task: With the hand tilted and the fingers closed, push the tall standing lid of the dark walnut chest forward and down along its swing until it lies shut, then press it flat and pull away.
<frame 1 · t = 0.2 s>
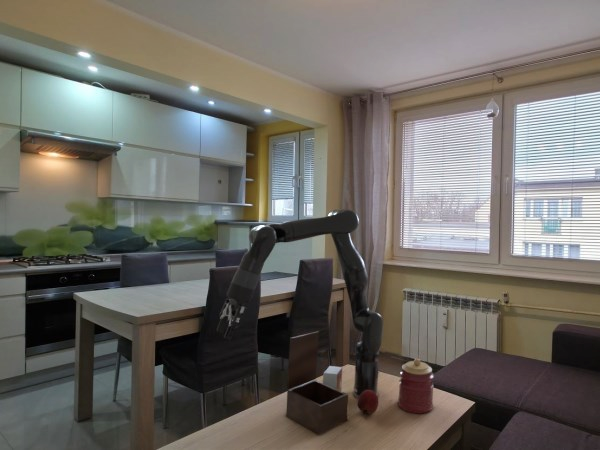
hand: (223, 335, 116), 31 cm above the table, tool tilted 20°, fingers open, 8 cm apart
chest: (316, 418, 130), on the table
kitchen canister: (415, 406, 143), on the table
small box: (331, 397, 147), on the table
lid: (303, 359, 135), point 18 cm above the table, hinge at 88.0°
apple: (367, 413, 135), on the table
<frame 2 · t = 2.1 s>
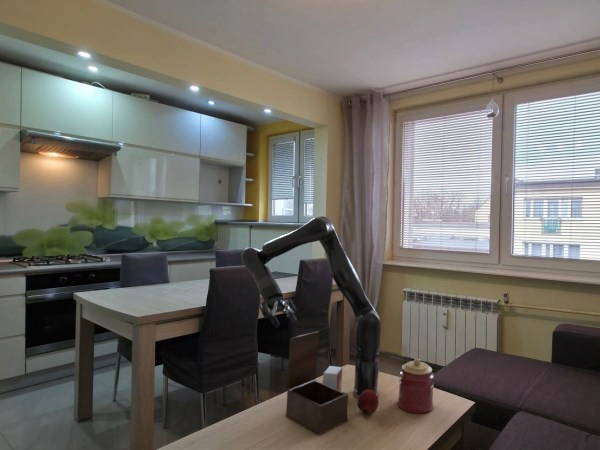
hand: (286, 324, 142), 29 cm above the table, tool tilted 45°, fingers open, 7 cm apart
nothing on the table moved.
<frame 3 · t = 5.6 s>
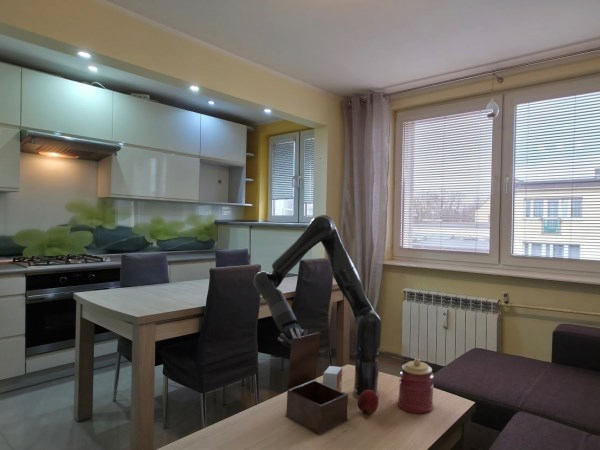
hand: (303, 356, 136), 19 cm above the table, tool tilted 45°, fingers closed
lid: (304, 359, 135), point 18 cm above the table, hinge at 84.9°, touching gripper
everything else where it was.
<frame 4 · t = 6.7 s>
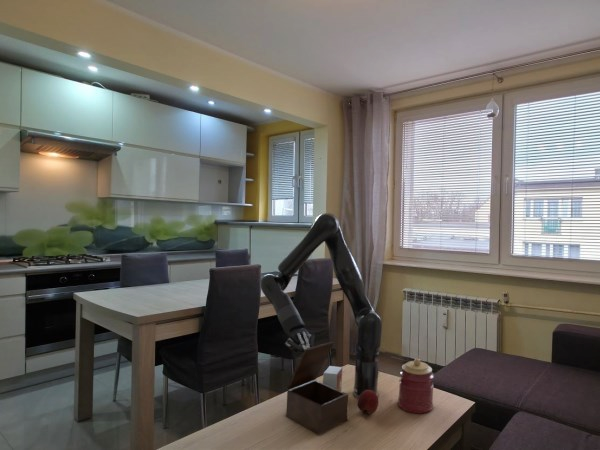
hand: (310, 361, 133), 18 cm above the table, tool tilted 45°, fingers closed
lid: (310, 365, 133), point 17 cm above the table, hinge at 61.7°, touching gripper
everything else where it was.
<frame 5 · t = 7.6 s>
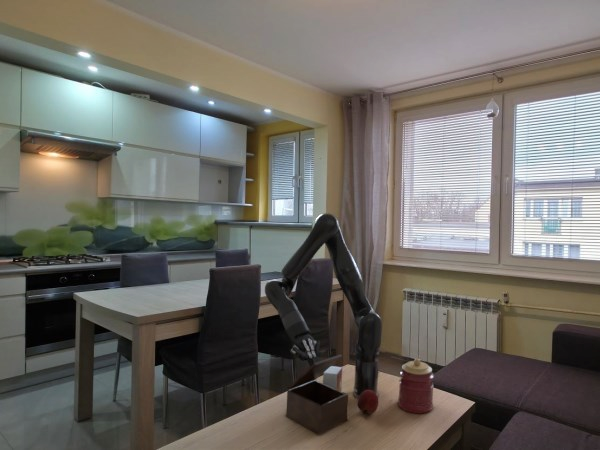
hand: (316, 368, 131), 17 cm above the table, tool tilted 45°, fingers closed
lid: (314, 371, 131), point 15 cm above the table, hinge at 42.8°, touching gripper
everything else where it was.
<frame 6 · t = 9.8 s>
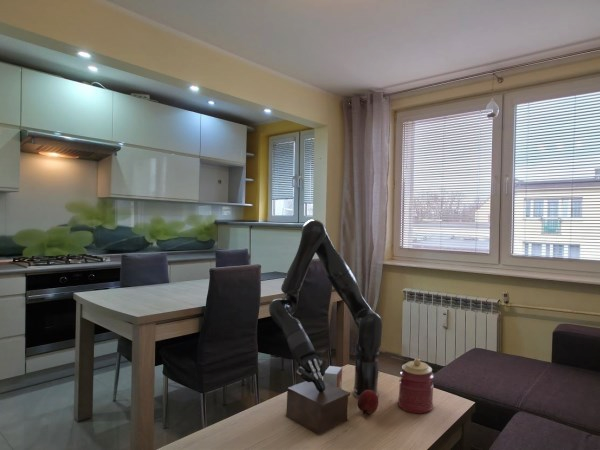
hand: (322, 390, 129), 10 cm above the table, tool tilted 45°, fingers closed
lid: (318, 391, 130), point 9 cm above the table, hinge at -0.2°, touching chest, gripper
everything else where it was.
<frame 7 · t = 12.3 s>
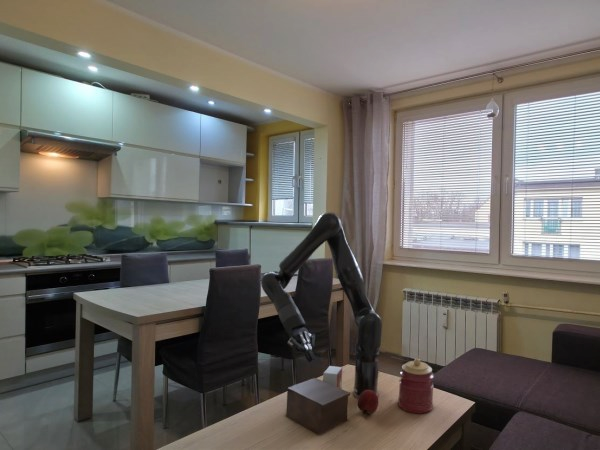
hand: (312, 360, 134), 18 cm above the table, tool tilted 45°, fingers closed
lid: (318, 391, 130), point 9 cm above the table, hinge at -0.2°, touching chest
everything else where it was.
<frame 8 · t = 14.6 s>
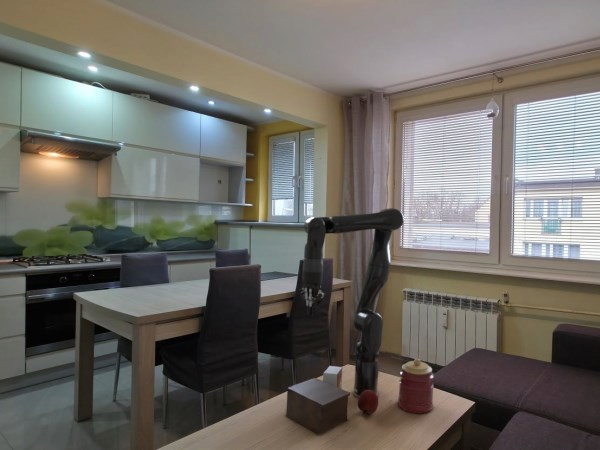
hand: (310, 315, 143), 32 cm above the table, tool pointing down, fingers closed
nothing on the table moved.
at the end: lid at +0° (first picture: +88°) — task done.
